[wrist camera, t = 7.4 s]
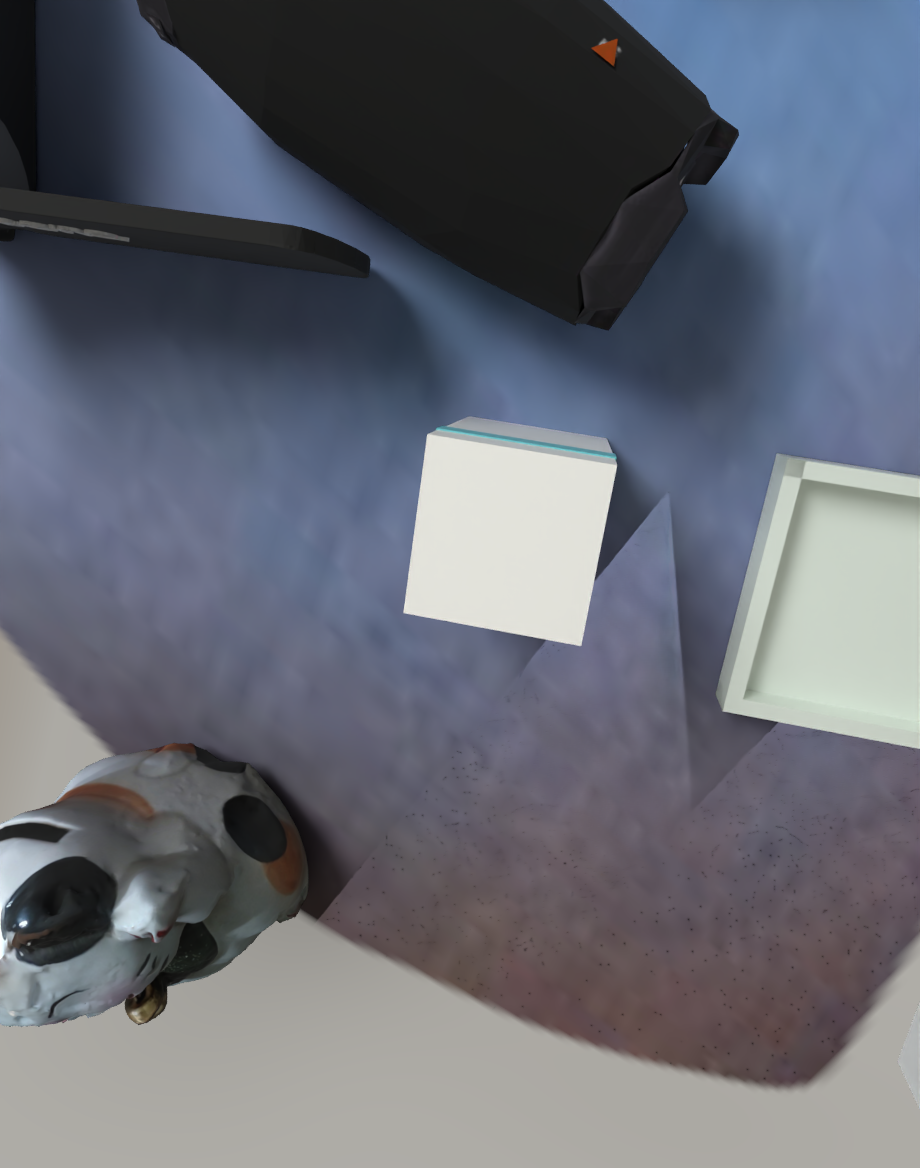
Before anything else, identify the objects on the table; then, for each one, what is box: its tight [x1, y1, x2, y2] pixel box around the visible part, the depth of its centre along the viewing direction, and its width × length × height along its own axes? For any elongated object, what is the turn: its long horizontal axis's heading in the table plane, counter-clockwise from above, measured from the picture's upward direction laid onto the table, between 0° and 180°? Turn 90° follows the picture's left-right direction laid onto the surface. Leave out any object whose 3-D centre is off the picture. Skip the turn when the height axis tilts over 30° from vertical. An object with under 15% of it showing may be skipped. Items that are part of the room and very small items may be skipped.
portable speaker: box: [137, 0, 739, 331], centre depth 28 cm, size 9×9×20 cm
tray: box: [716, 453, 920, 749], centre depth 34 cm, size 11×11×2 cm
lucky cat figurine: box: [0, 743, 309, 1027], centre depth 36 cm, size 15×12×14 cm
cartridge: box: [404, 416, 617, 646], centre depth 31 cm, size 6×6×10 cm
